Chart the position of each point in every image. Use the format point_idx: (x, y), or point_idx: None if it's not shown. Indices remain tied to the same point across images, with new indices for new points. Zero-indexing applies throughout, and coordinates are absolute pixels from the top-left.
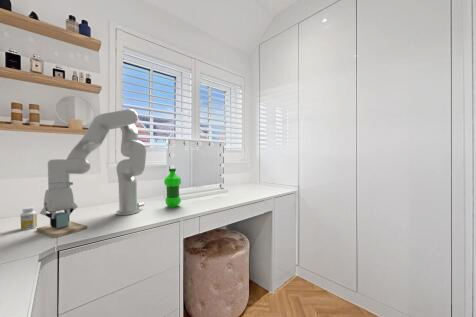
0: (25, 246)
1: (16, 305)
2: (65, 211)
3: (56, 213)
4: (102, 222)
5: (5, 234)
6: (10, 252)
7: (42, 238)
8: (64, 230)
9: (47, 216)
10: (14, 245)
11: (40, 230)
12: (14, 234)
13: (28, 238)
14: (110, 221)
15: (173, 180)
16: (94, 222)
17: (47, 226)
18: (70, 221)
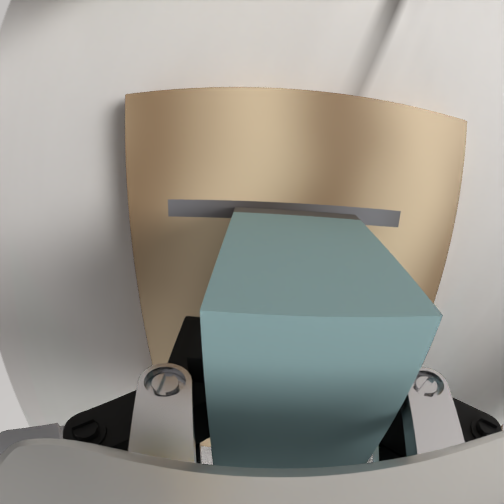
0: (58, 398)
1: None
2: (414, 433)
3: (291, 387)
4: (480, 390)
5: (12, 2)
6: (26, 399)
7: (120, 377)
8: None
9: (111, 417)
10: (17, 339)
11: (133, 199)
12: (24, 54)
13: (56, 290)
14: (491, 403)
15: None
16: (485, 350)
17: (220, 137)
18: (456, 197)
